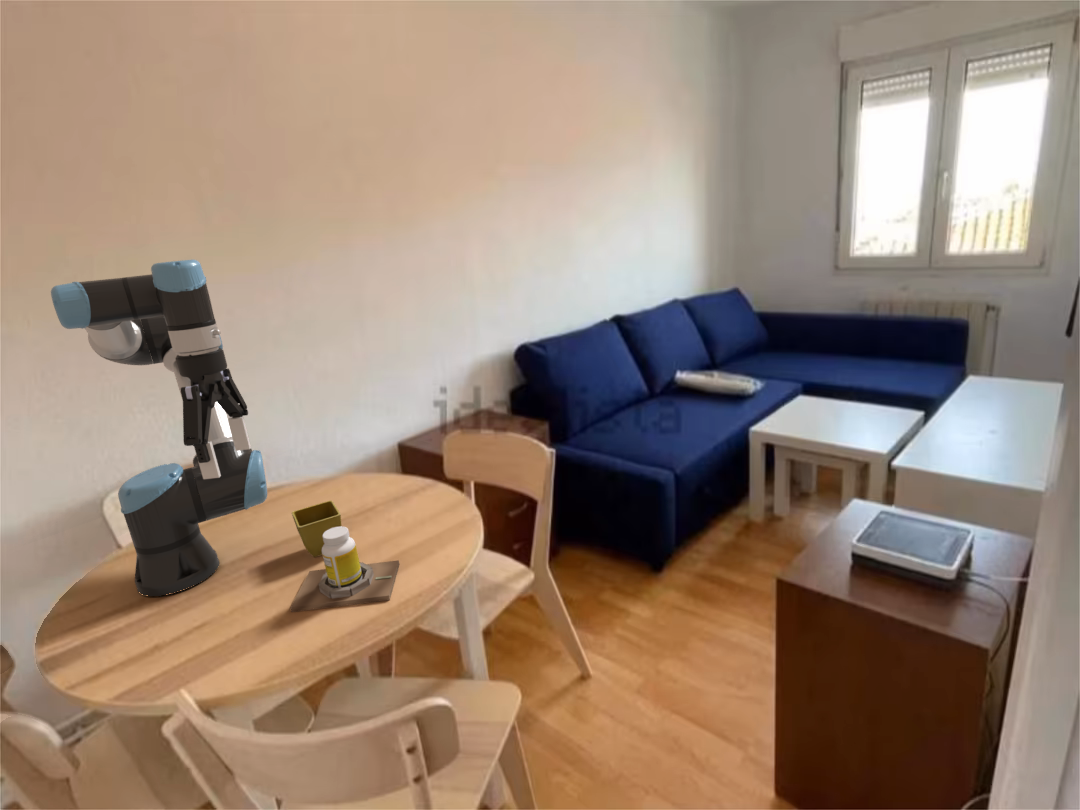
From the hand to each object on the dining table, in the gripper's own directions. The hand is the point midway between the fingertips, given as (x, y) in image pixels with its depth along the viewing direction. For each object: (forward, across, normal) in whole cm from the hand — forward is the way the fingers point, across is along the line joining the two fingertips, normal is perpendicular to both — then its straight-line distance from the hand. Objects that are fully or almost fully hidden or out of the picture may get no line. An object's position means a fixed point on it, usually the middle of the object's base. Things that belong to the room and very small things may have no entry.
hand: (228, 462), depth 110 cm
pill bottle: (+26, -4, -18) cm, 32 cm away
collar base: (+27, -4, -18) cm, 32 cm away
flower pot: (+27, +12, -9) cm, 31 cm away
